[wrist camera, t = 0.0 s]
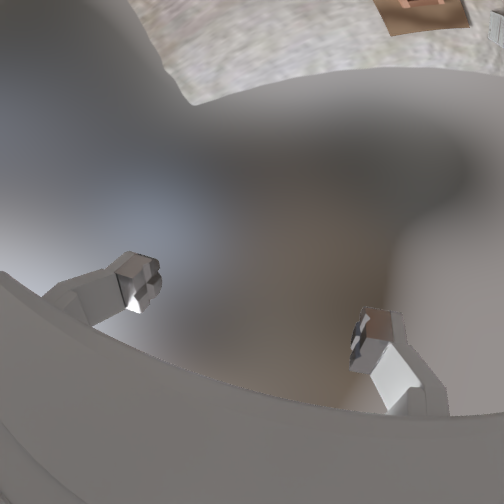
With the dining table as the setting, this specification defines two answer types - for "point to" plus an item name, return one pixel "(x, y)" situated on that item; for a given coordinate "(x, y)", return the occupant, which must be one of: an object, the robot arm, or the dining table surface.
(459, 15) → the keeper board
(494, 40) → the supplement box
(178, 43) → the dining table surface
